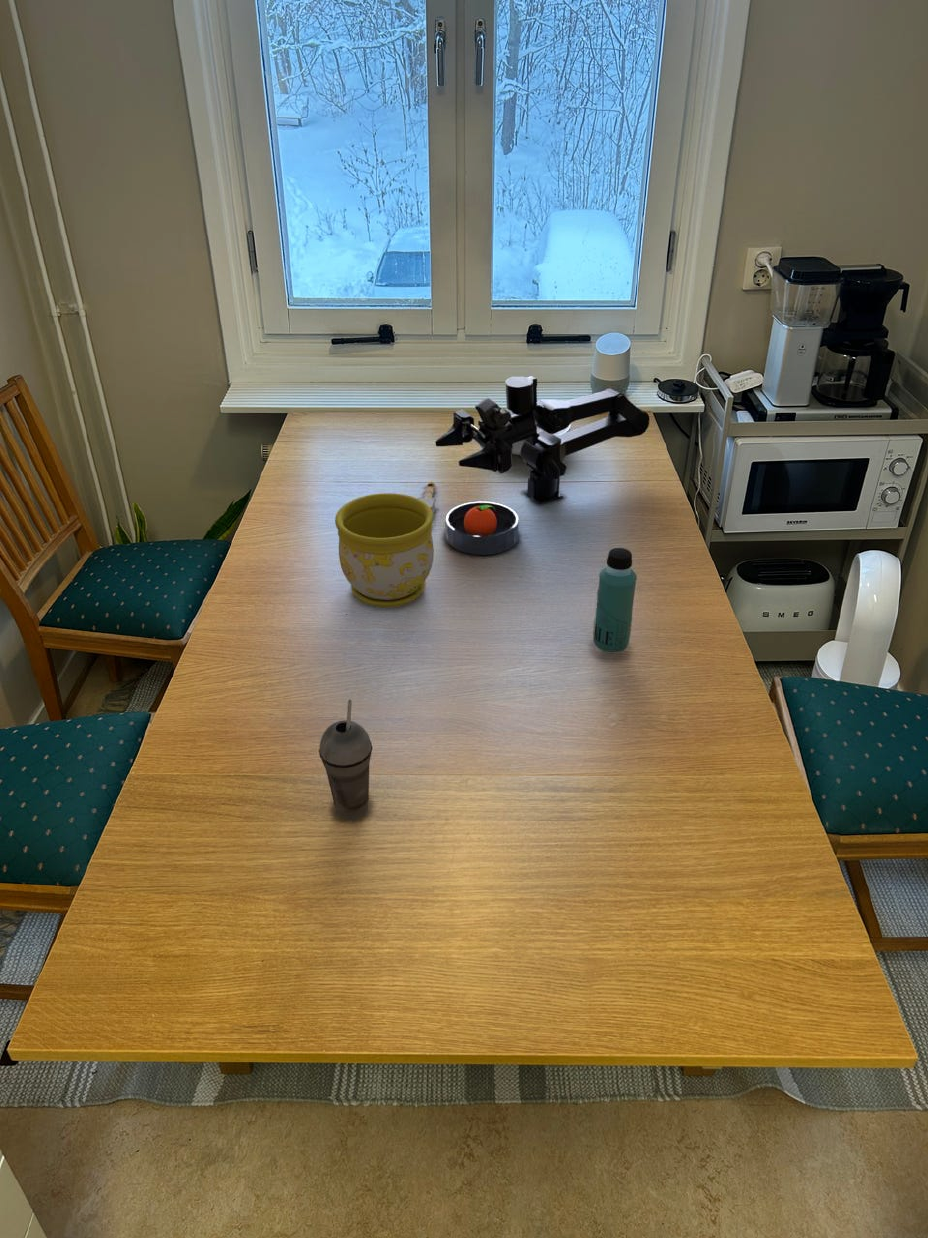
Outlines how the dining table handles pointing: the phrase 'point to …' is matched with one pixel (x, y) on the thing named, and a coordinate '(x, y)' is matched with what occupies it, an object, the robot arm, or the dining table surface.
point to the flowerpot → (386, 547)
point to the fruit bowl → (482, 545)
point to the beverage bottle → (615, 602)
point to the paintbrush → (429, 496)
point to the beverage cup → (347, 765)
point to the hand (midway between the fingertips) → (447, 453)
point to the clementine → (480, 521)
